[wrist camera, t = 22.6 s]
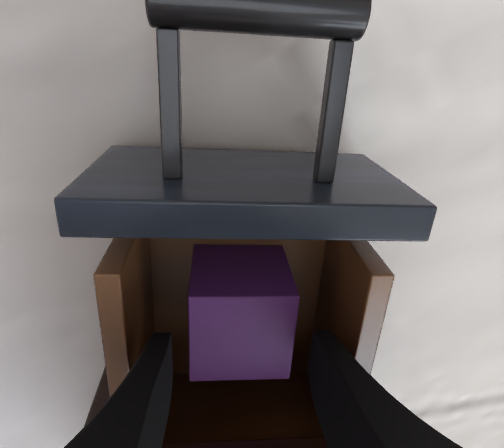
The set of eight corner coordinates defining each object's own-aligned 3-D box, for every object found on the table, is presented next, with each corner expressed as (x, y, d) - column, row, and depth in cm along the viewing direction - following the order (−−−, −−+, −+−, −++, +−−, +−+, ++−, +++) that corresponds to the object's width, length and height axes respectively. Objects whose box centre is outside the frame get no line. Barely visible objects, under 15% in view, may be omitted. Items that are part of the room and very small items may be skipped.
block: (194, 316, 18) (189, 381, 15) (193, 243, 17) (187, 297, 13) (275, 316, 19) (289, 379, 15) (283, 244, 17) (300, 296, 14)
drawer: (95, -15, 13) (7, -63, 8) (390, 7, 15) (501, -21, 9) (133, 370, 21) (102, 490, 15) (326, 366, 22) (364, 476, 16)
